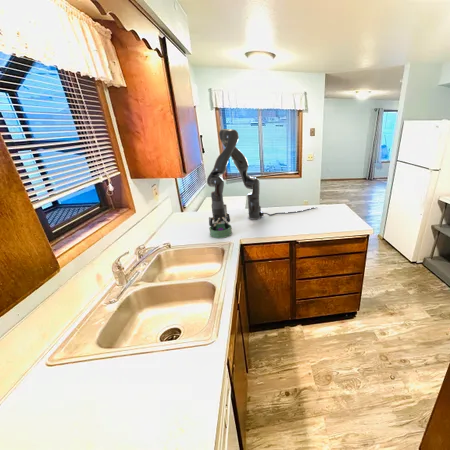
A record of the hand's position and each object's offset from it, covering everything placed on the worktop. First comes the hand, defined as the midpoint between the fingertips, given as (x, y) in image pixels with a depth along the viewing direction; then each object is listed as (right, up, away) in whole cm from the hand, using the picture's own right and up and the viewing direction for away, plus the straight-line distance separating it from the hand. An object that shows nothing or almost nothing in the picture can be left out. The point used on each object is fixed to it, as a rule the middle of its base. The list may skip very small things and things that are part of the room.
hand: (220, 229), depth 162 cm
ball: (0, -1, 0) cm, 1 cm away
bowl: (0, -3, +1) cm, 3 cm away
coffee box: (-6, +3, +19) cm, 20 cm away
